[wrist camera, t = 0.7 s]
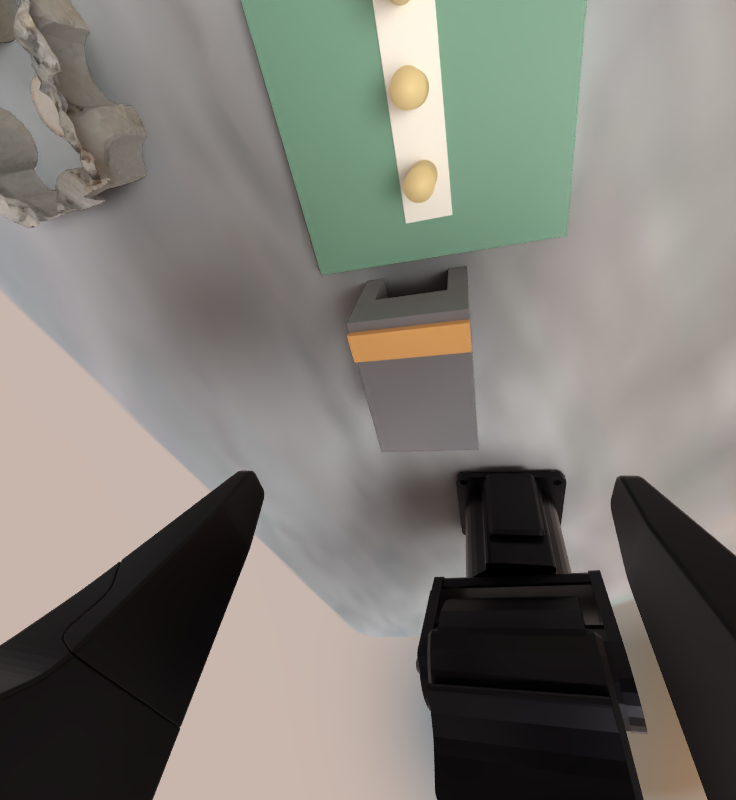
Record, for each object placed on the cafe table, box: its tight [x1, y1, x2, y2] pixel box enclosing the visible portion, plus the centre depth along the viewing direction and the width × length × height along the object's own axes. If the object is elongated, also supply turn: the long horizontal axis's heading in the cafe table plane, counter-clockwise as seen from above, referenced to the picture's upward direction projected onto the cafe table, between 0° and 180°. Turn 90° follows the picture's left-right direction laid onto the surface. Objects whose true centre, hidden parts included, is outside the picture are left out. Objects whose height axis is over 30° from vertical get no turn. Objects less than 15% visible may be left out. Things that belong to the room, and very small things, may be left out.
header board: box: [241, 0, 587, 275], centre depth 12 cm, size 11×10×3 cm
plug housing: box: [346, 266, 478, 452], centre depth 18 cm, size 7×5×5 cm, turn 13°
